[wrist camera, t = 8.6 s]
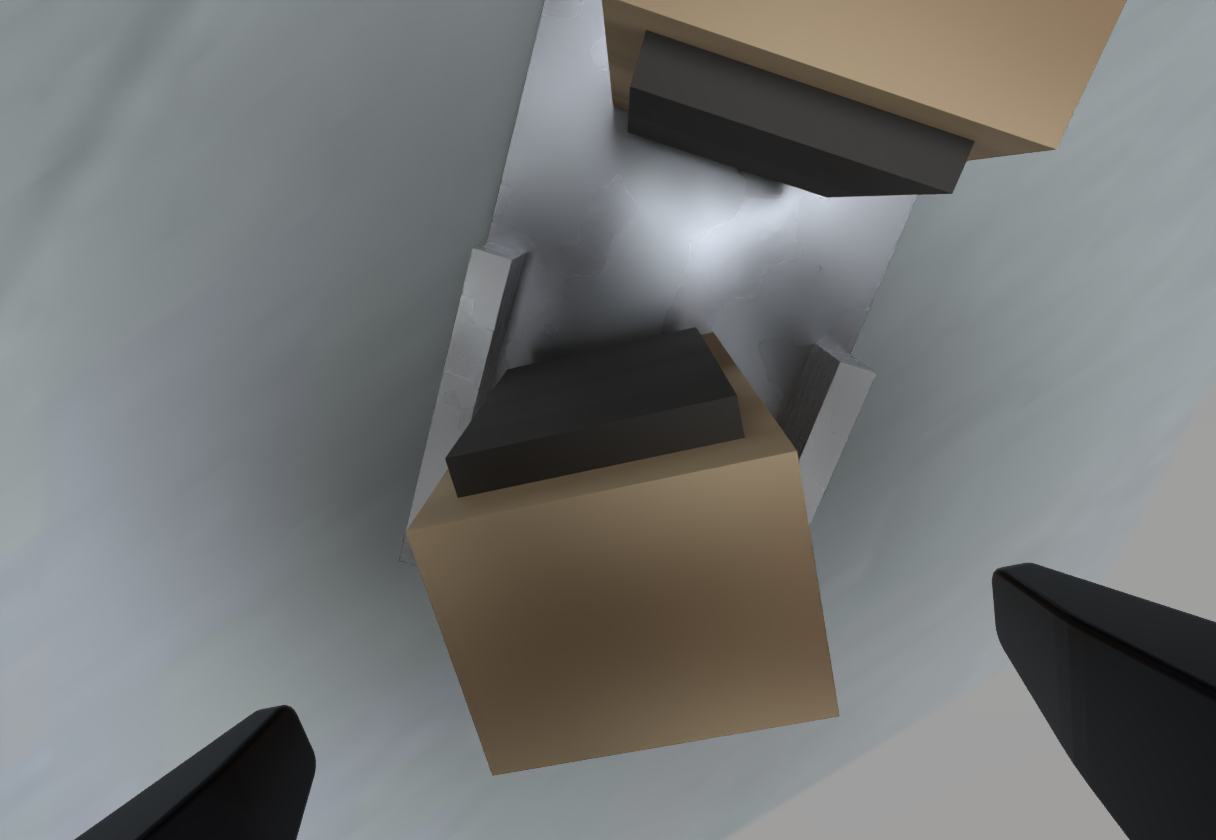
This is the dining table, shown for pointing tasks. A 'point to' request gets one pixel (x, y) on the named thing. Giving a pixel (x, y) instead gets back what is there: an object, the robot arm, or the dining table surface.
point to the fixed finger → (854, 83)
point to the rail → (659, 261)
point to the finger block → (625, 558)
